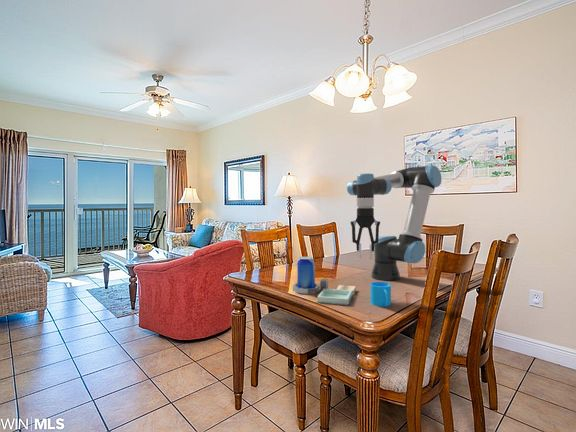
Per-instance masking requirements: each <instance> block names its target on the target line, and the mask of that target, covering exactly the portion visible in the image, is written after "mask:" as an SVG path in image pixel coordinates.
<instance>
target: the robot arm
mask: <svg viewBox="0 0 576 432" xmlns="http://www.w3.org/2000/svg"><path fill="white" fill-rule="evenodd" d="M442 180H443V179H442V173H441V171H440V169H439V167H438V166H436V165H433V164H432V165H429V164H428V165H422V166H412V167H407V168H403V169H399V170H396V171H393V172H391V173H390V174H385V175H380V176H374V173H359V174H357V175H356V180H351V181H349V182H348V183H347V185H346V191H347V193H348V194H349V195H351V196H356V207H357V209H356V218H355V220H351V221H350V222H349V223H350V226H351V238H352V241H351V242H352V243H353V244H356V252H358V259H362V243H360V242H361V237H362V233H363V229H364V228H366V229H367V230H368V234H369V239H370V243H369V259H370V260H372V259H373V252H374V264H373V267H372V270H371V277H372V279H375V280H380V281H397V280H400V279H401V276H400V275H401V274H400V271H399V267H398V264H397V262H403V263H407V264H418V263H419V262H421V261H422V259H423V258H424V256H425V254H426V245H425V243H424V242H423V238H422V237H421V235H422V231H423V227H424V226H423V225H424V223H425V222H424V221H425V218H426V213H427V209H428V205H429V200H430V197H431V194H433V193H434V192H435V190H436V188H438V187H440V186H441V184H442ZM392 188H394V189H400V188H401V189H402V188H406V189H411V190H412V196H411V200H410V204H409V207H408V213H407V215H406V219H405V223H404V229H403V231H402V232H401V233H400V234H399V235H398V237H397V235H387V236H379V230H380V225H381V221H380V220H379V221H378V220H376V219H375V216H374V215H375V214H374V213H375V212H374V211H375V208H373V207H374V206H375V204H374V203H375V201H374V200H375V199H374V196H377V195H380V196H381V195H382V196H384V195H387V194H389V193H390V192H391V191H392ZM373 224H374V225H375V237H374V235H373V231H372V226H373ZM356 225H358V227H359V228H358V229H359V230H358V234H357V235H356ZM356 236H357V238H356ZM374 238H375V239H374Z"/></svg>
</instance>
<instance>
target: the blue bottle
mask: <svg viewBox="0 0 576 432" xmlns="http://www.w3.org/2000/svg"><path fill="white" fill-rule="evenodd" d="M315 263H316V262H315V260H314V259H313V256H299V258H298V260H297V263H296V264H297V265H296V267H297V276H296V277H297V283H298V287H299V288H313V287H315V283H316V280H315V279H316V276H315V275H316V272H315V271H316V270H315V269H316V267H315V266H316V265H315Z"/></svg>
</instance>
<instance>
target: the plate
mask: <svg viewBox="0 0 576 432" xmlns="http://www.w3.org/2000/svg"><path fill="white" fill-rule="evenodd" d="M336 289H338V290H351V291H352V296H354V295H355V293H356V291H357V290H356V289H357V287H356V285H342V284H338V286H337V288H336Z"/></svg>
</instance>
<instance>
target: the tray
mask: <svg viewBox="0 0 576 432" xmlns="http://www.w3.org/2000/svg"><path fill="white" fill-rule="evenodd" d="M352 297H353V295H352V291H351V290H338V289H337V288H336V289H335V288H328V289H325V288H324V289H323V290H322V291H320V293H319V294H318V295H317V298H316V299H317V303H320V304H330V305H331V304H332V305H333V304H334V305H343V306H349V304H350V302H351V300H352Z"/></svg>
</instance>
